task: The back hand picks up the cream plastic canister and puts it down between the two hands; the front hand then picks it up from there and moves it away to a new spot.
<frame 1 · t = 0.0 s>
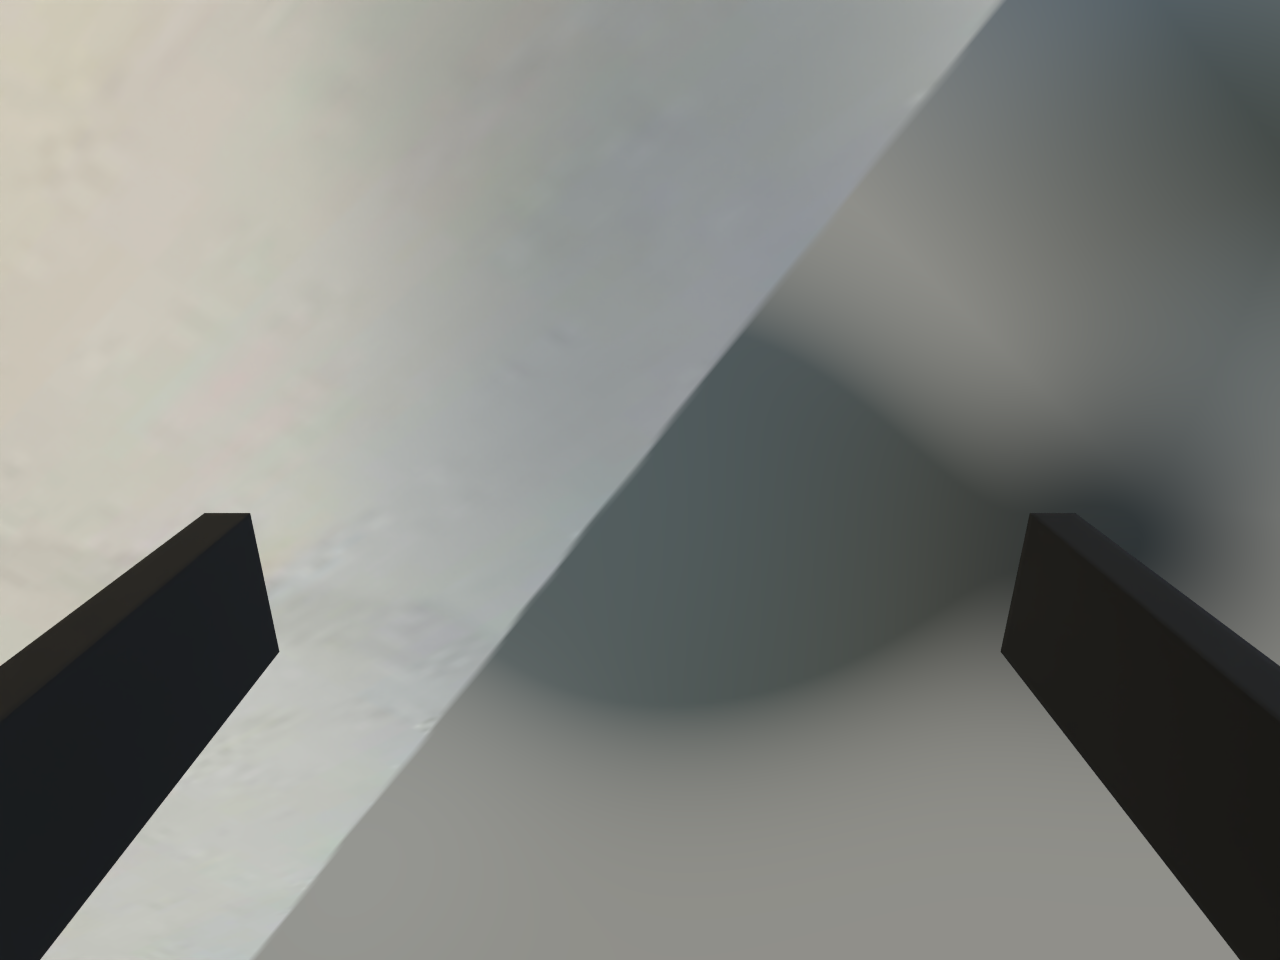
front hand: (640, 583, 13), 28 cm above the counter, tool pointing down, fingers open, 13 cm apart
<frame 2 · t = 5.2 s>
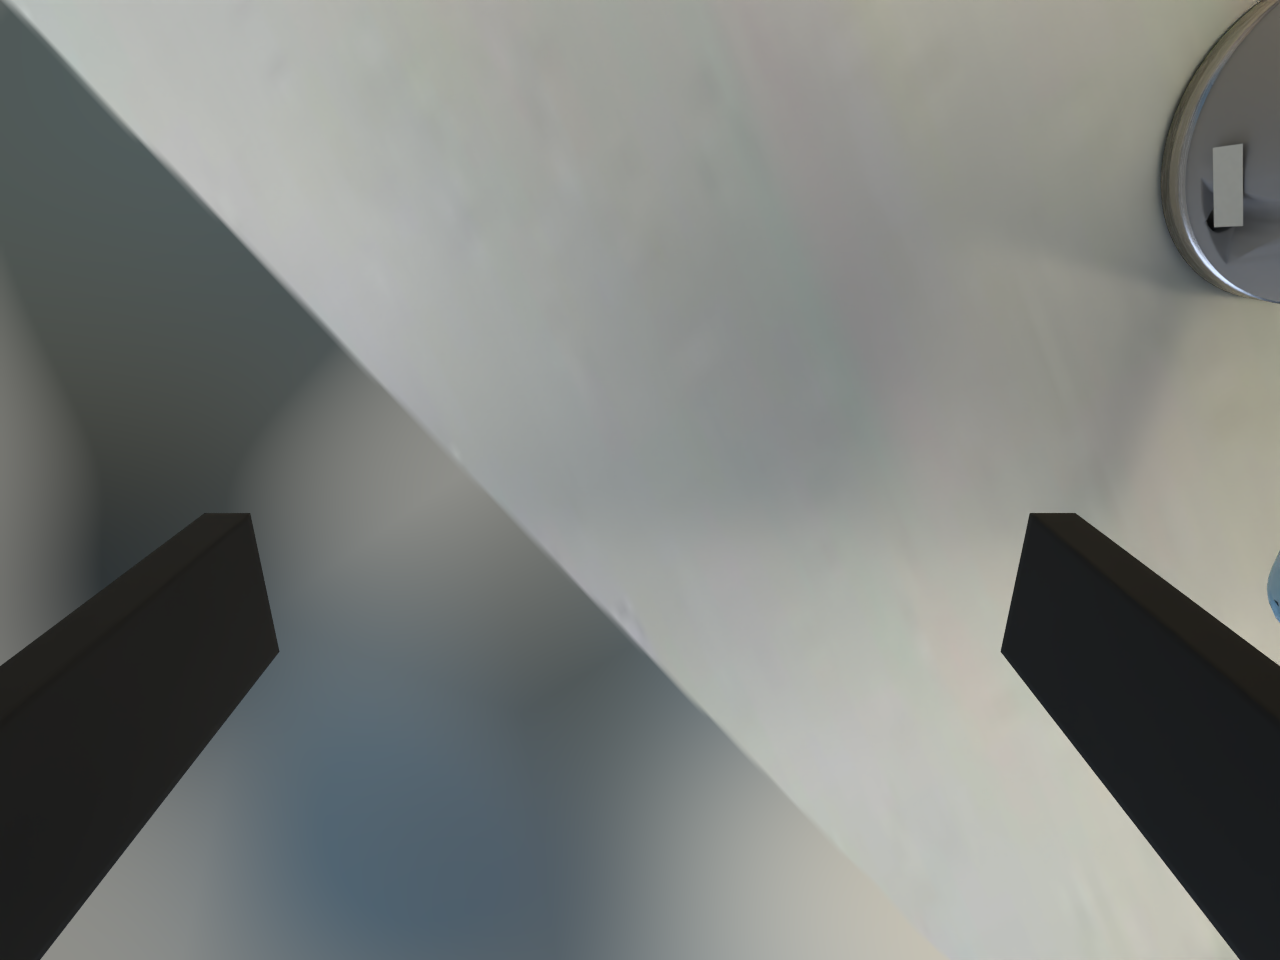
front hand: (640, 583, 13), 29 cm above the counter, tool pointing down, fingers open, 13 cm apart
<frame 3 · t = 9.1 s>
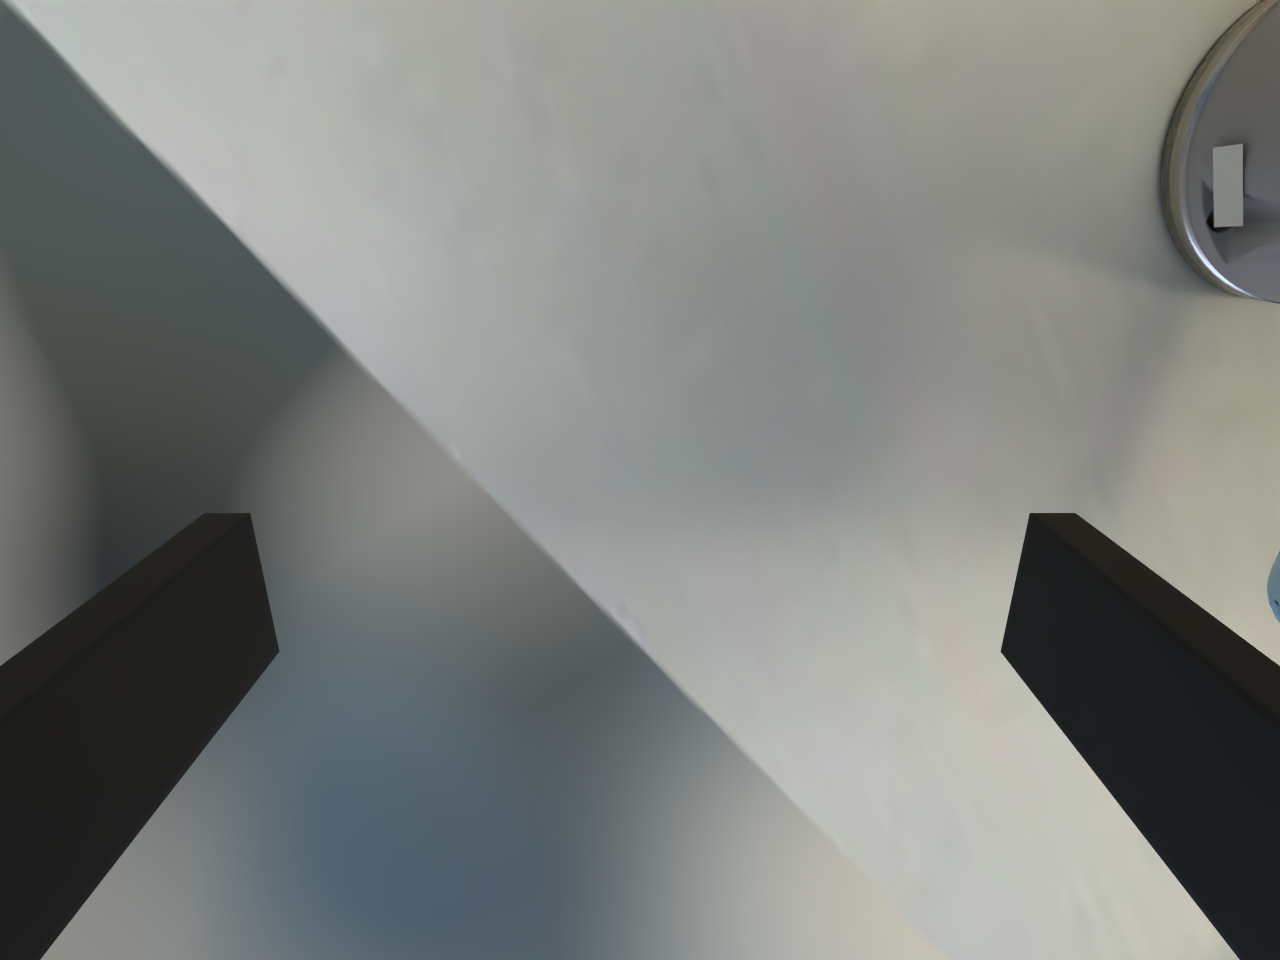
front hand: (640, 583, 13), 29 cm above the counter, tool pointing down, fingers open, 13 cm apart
when the back hand's fingers open (4 cm above the counter, at t = 13.3 s): canister drops 2 cm, on the counter.
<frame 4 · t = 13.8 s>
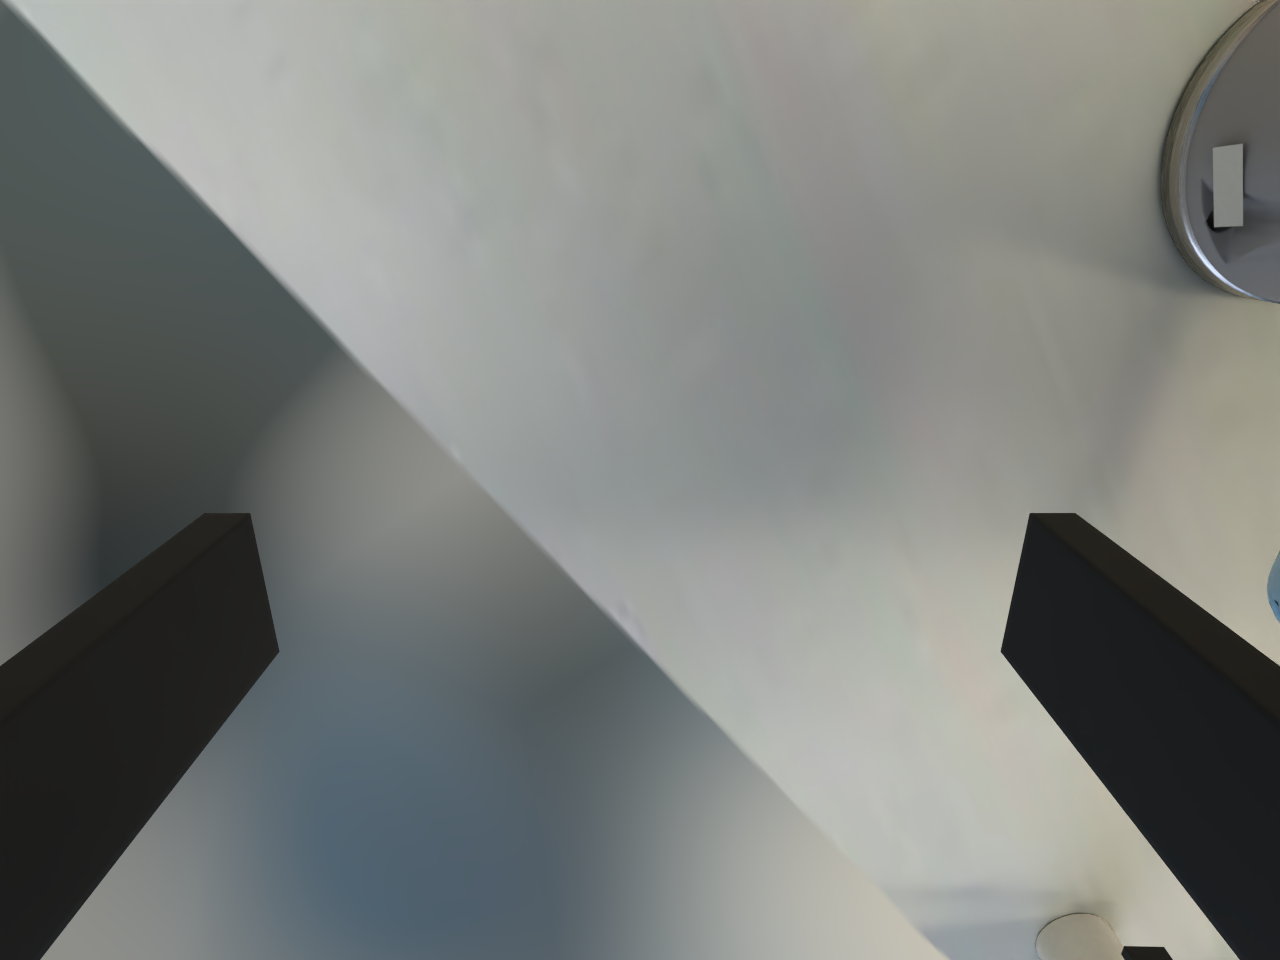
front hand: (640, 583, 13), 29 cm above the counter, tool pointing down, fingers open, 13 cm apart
canister: (1073, 939, 57), on the counter
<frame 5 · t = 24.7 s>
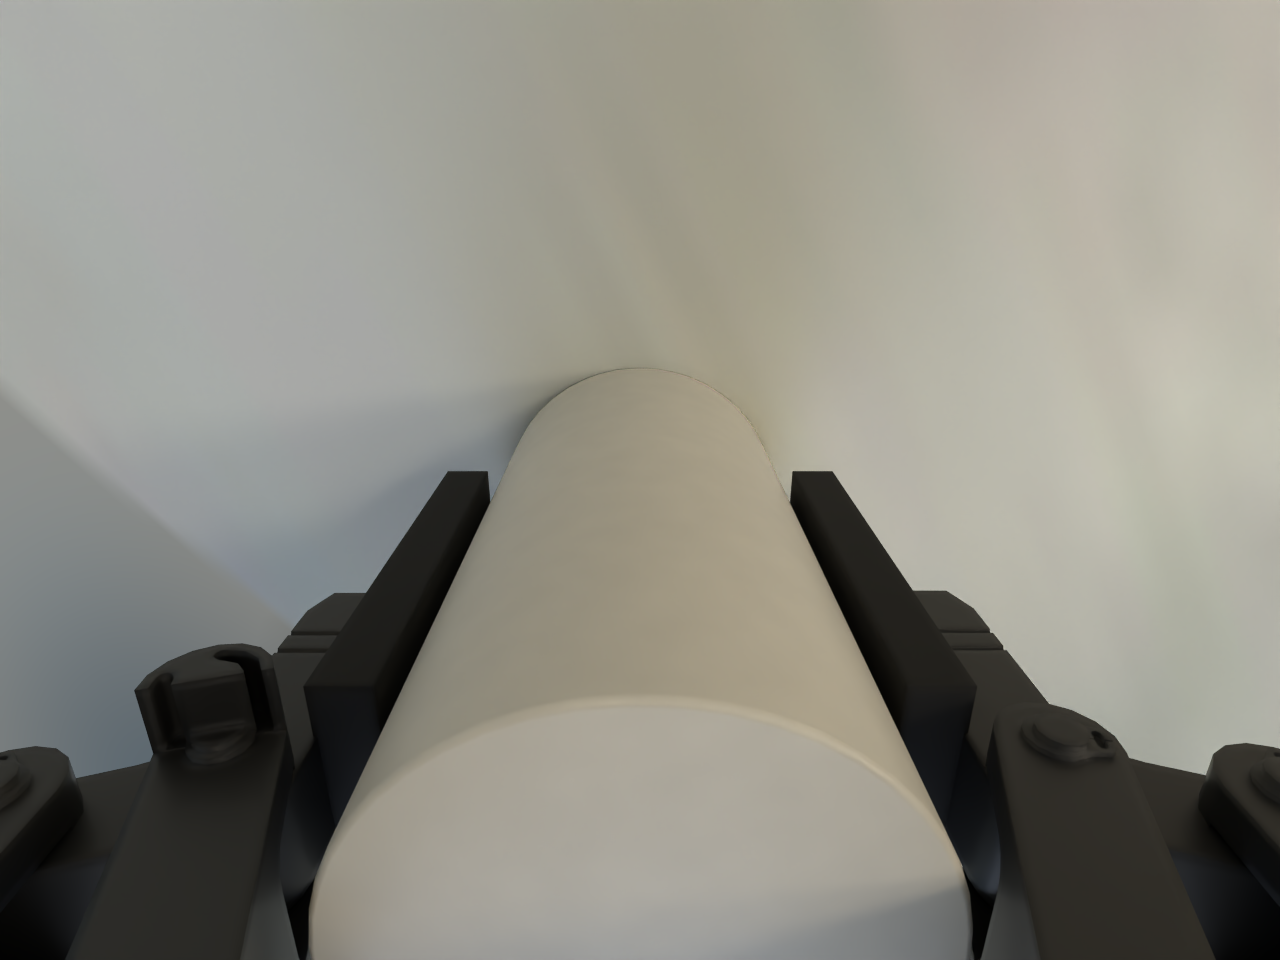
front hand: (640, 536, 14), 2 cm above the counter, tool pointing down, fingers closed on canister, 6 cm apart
canister: (640, 496, 16), on the counter, touching front hand
when the front hand's fingers open (4 cm above the counter, at t = 37.2 s): canister drops 2 cm, on the counter.
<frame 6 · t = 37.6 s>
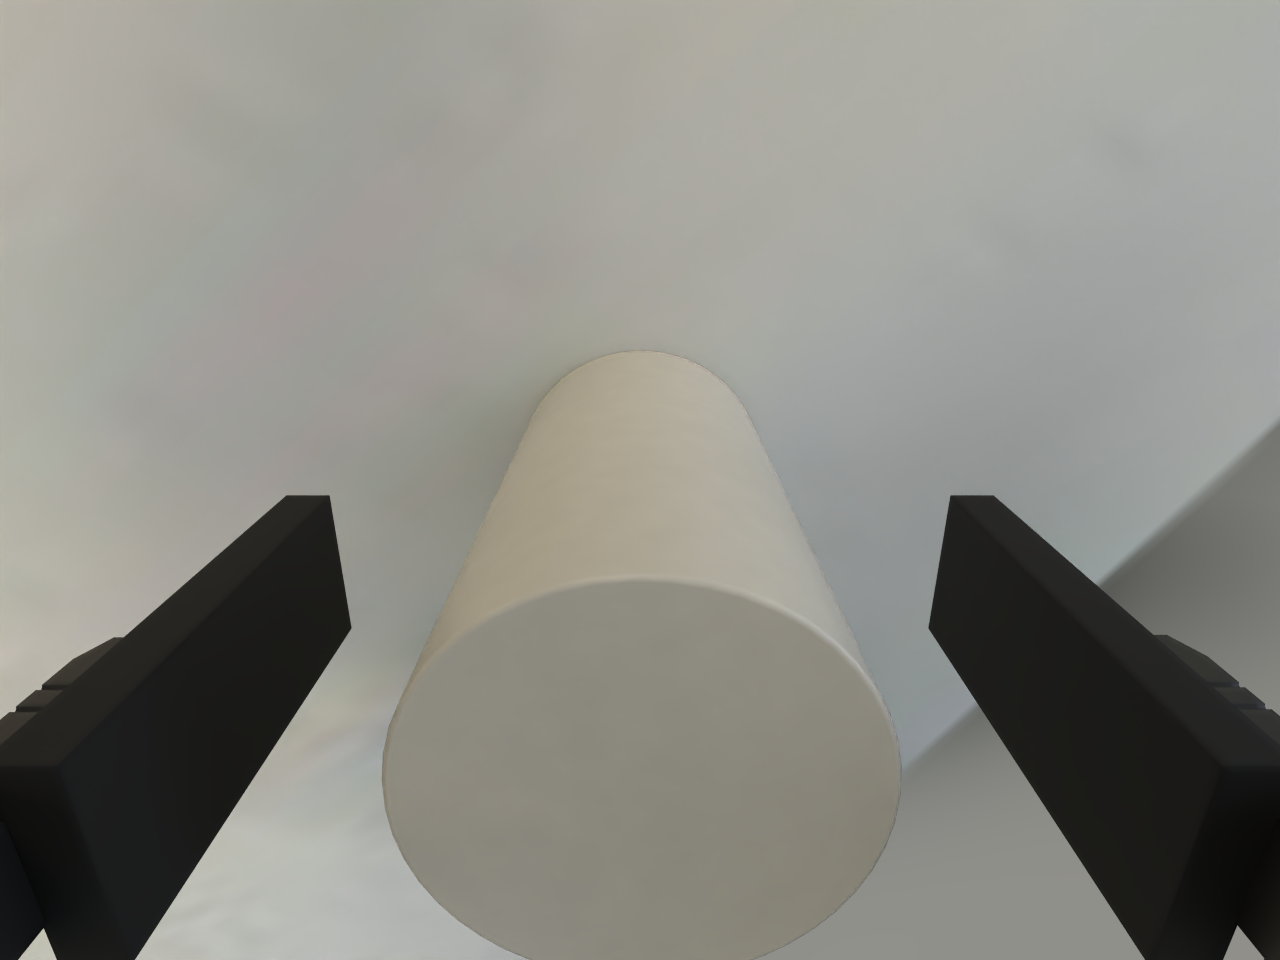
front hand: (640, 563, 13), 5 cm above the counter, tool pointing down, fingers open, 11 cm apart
canister: (640, 467, 18), on the counter
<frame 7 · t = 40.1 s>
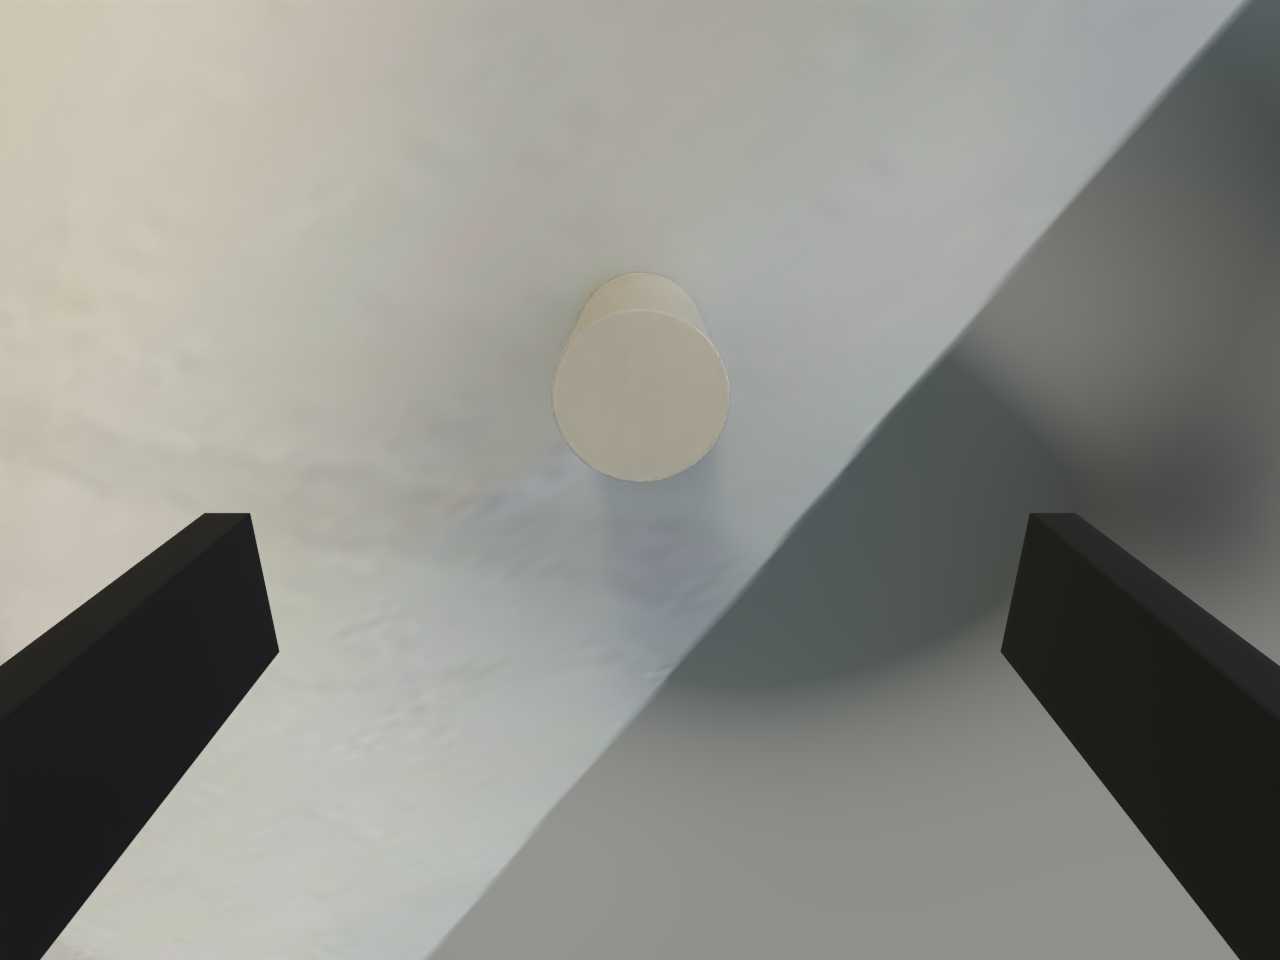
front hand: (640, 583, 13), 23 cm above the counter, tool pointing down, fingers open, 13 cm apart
canister: (640, 337, 34), on the counter
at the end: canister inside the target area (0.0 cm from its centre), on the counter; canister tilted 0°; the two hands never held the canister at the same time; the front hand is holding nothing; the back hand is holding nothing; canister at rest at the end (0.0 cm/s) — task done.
